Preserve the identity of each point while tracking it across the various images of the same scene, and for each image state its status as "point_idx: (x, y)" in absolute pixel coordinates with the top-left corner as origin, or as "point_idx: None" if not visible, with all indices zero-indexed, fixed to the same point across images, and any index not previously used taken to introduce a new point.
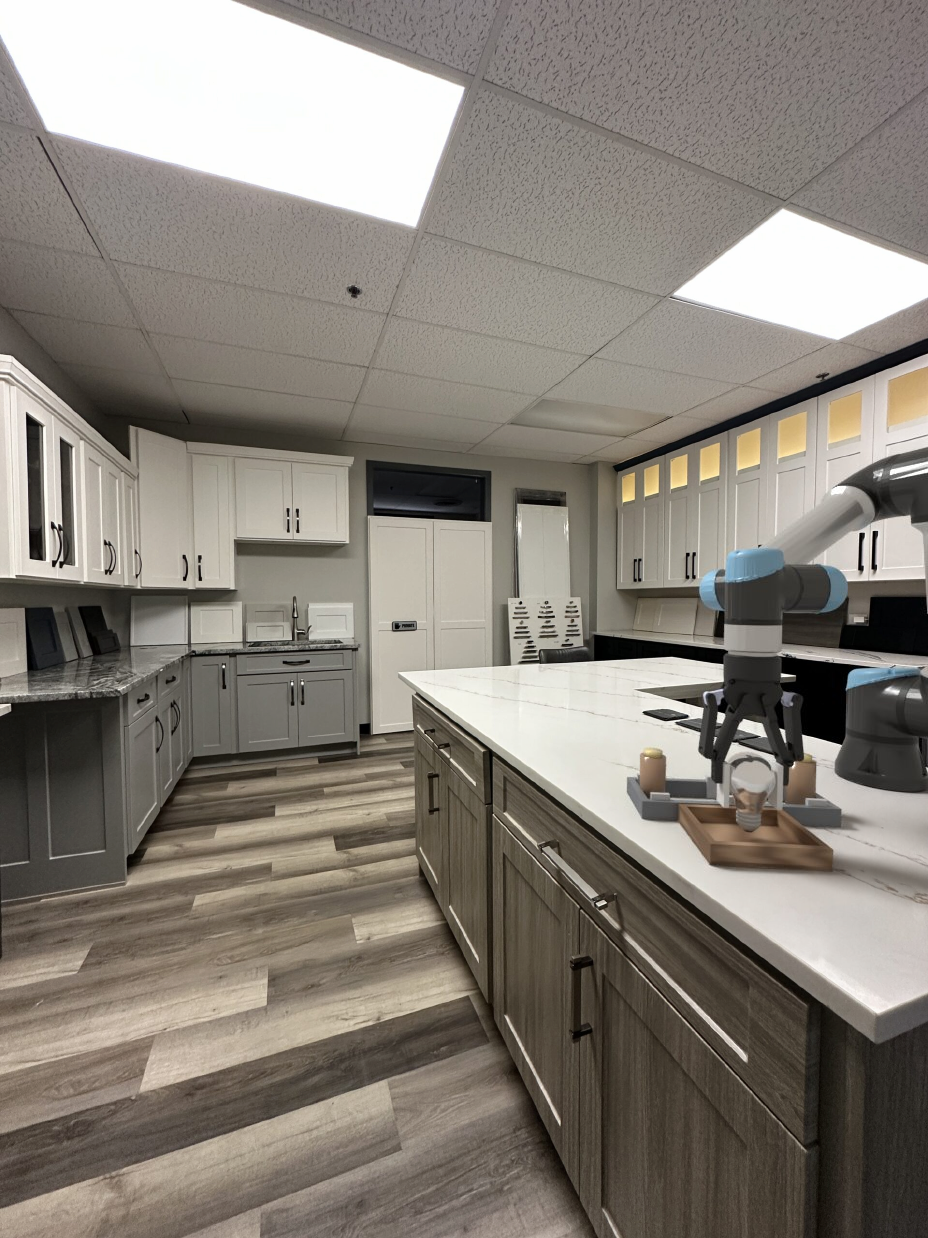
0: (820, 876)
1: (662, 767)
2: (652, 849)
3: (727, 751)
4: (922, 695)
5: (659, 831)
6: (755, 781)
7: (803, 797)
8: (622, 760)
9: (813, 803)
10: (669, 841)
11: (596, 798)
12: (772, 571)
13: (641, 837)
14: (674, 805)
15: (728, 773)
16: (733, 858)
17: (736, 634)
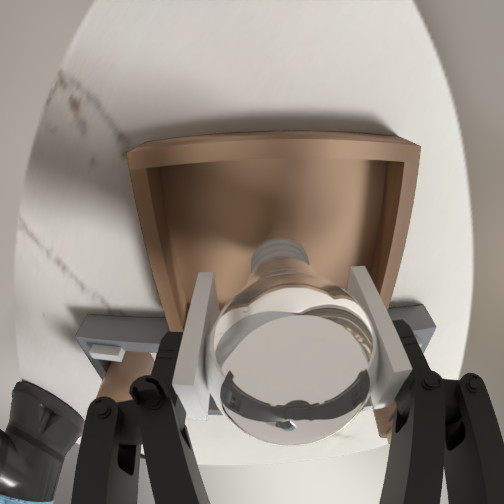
0: (178, 115)
1: (395, 405)
2: (464, 195)
3: (416, 419)
4: None
5: (422, 264)
6: (315, 303)
7: (123, 370)
8: (335, 444)
9: (111, 350)
10: (425, 228)
11: (443, 351)
12: None
13: (459, 238)
14: None
15: (389, 343)
16: (360, 135)
17: None
